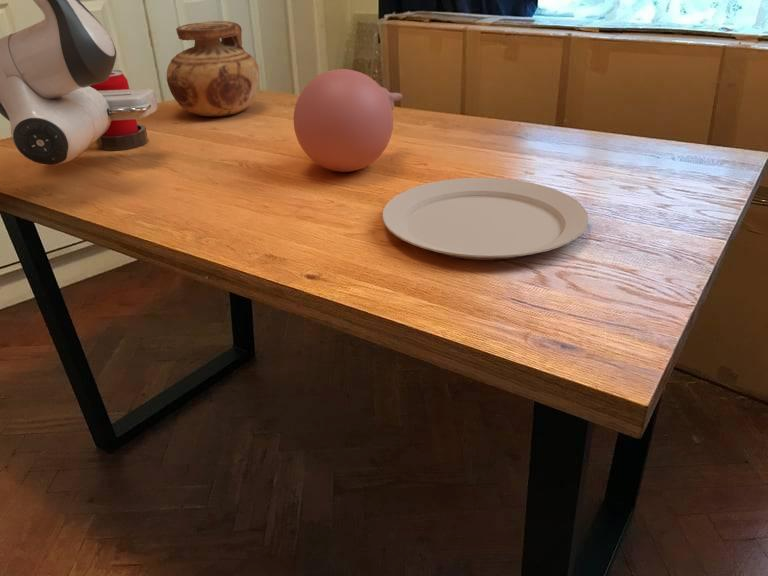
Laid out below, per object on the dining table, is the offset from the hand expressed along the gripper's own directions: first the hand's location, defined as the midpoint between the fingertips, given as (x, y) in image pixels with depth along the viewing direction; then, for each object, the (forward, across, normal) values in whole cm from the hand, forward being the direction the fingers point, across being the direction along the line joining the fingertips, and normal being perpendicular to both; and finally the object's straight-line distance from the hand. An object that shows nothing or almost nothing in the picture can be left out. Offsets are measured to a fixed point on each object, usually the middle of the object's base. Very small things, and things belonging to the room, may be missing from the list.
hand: (106, 94), depth 117 cm
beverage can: (+2, 0, +9) cm, 9 cm away
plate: (-45, -59, +10) cm, 75 cm away
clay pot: (+24, -15, +10) cm, 29 cm away
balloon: (-18, -44, +10) cm, 48 cm away
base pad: (+2, 0, +10) cm, 10 cm away
